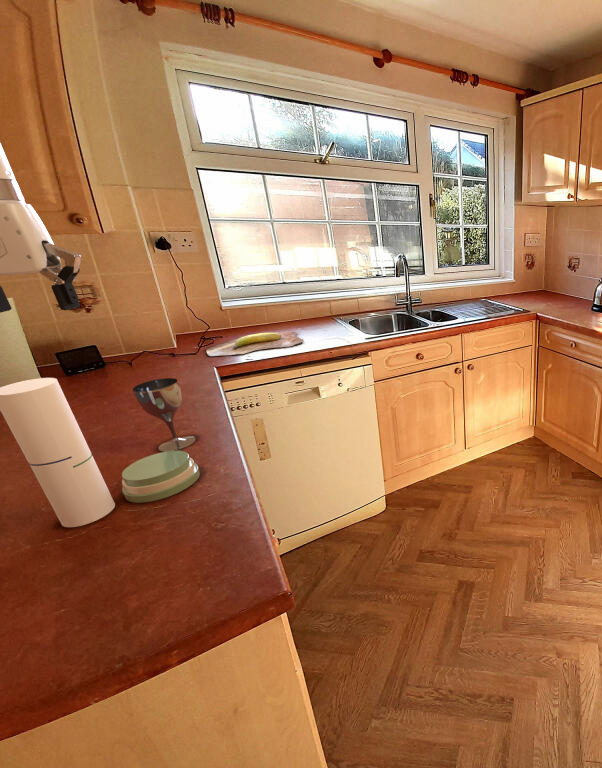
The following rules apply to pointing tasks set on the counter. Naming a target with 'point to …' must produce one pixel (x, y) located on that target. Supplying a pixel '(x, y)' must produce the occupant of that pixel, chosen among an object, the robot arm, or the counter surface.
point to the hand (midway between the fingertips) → (36, 310)
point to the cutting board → (255, 343)
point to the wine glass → (163, 407)
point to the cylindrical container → (56, 450)
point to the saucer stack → (159, 476)
